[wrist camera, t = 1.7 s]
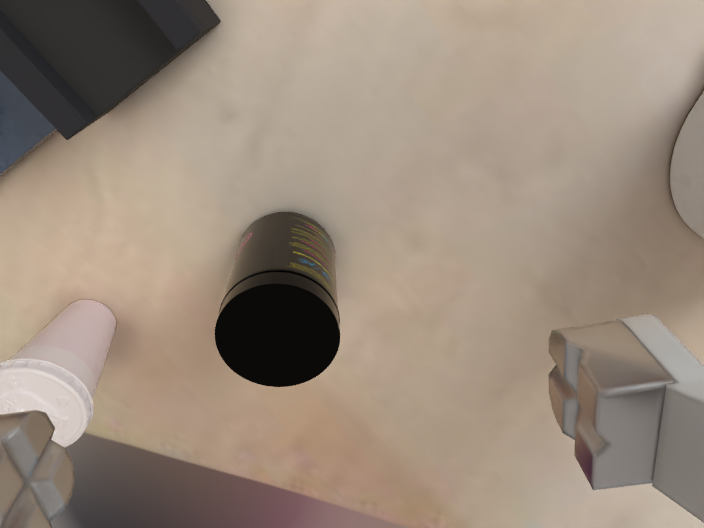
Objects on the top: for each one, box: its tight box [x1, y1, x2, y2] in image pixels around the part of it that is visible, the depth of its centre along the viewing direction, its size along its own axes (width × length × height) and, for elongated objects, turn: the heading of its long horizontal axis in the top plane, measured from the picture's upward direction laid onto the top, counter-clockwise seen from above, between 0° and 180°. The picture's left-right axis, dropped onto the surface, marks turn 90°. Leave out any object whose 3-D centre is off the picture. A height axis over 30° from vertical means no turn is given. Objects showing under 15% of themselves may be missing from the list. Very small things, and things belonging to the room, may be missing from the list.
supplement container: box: [215, 212, 340, 387], centre depth 35 cm, size 7×7×10 cm
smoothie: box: [0, 300, 116, 447], centre depth 36 cm, size 6×6×14 cm
